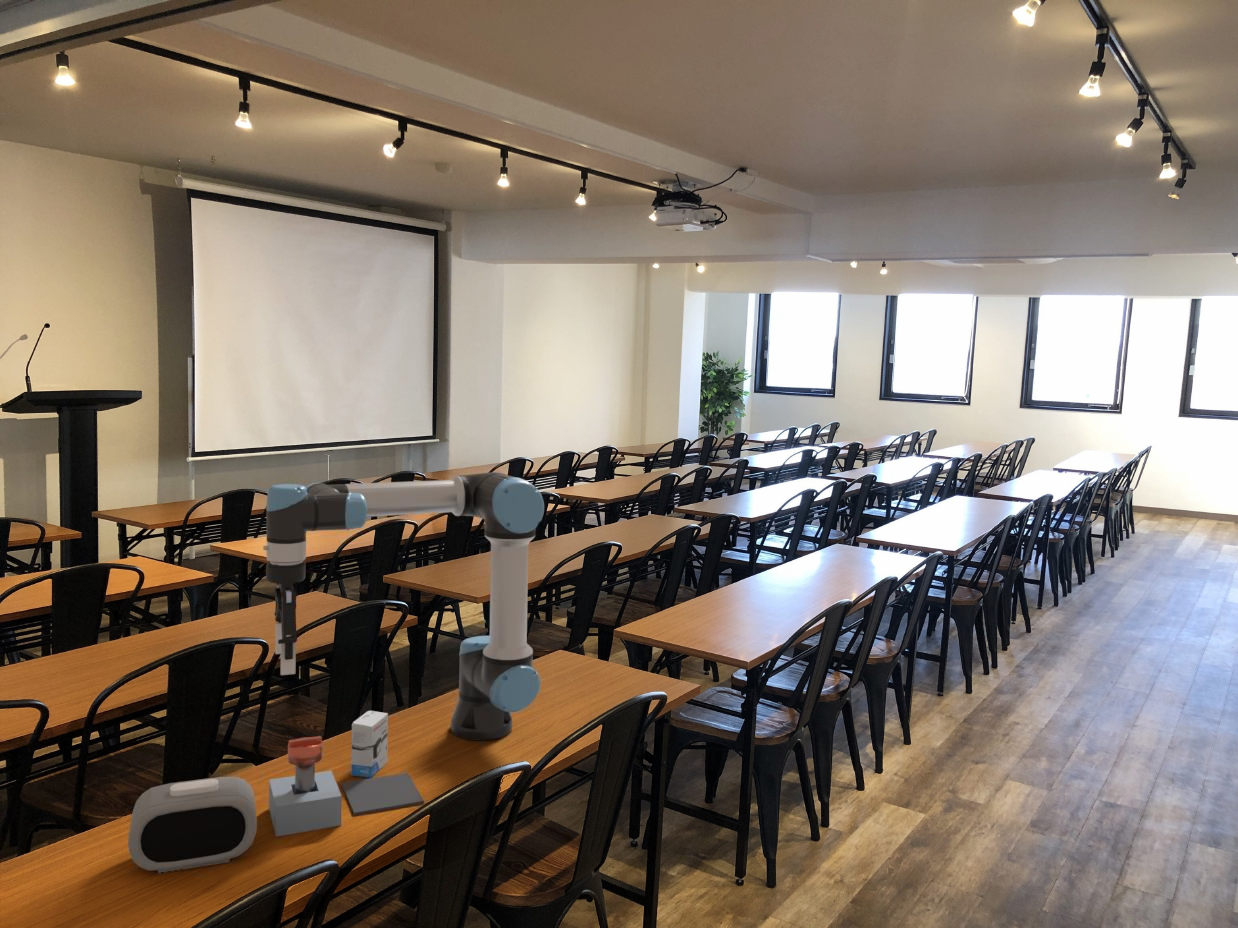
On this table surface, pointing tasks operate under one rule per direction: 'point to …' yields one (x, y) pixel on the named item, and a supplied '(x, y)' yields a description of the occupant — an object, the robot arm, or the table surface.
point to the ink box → (369, 743)
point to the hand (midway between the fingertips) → (285, 663)
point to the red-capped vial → (305, 761)
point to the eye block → (304, 805)
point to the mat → (381, 793)
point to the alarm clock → (192, 824)
